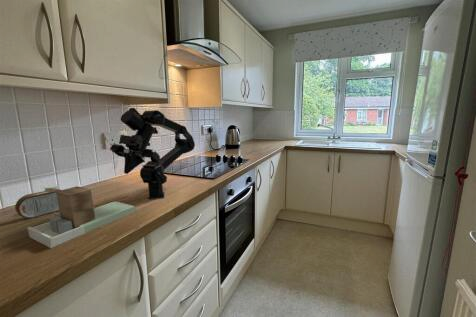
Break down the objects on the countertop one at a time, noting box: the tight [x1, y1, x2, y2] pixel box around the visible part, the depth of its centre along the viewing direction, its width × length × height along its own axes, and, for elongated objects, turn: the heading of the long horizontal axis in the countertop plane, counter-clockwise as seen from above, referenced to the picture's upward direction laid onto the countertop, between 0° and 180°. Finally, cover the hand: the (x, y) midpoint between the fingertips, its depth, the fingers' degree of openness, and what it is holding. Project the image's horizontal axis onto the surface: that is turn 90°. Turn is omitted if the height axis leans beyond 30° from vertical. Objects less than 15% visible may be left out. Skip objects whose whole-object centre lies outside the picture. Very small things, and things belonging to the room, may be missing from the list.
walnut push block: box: [56, 186, 95, 227], centre depth 74 cm, size 6×8×10 cm
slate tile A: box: [57, 219, 73, 234], centre depth 69 cm, size 4×4×2 cm
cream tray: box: [27, 221, 86, 249], centre depth 70 cm, size 9×13×3 cm, turn 60°
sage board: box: [72, 200, 136, 234], centre depth 81 cm, size 18×12×2 cm, turn 150°
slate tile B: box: [49, 215, 63, 233], centre depth 72 cm, size 4×4×2 cm
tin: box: [14, 188, 62, 219], centre depth 85 cm, size 15×3×8 cm, turn 141°
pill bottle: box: [44, 184, 59, 191], centre depth 92 cm, size 5×5×8 cm
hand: (125, 173), depth 87 cm, fingers closed
